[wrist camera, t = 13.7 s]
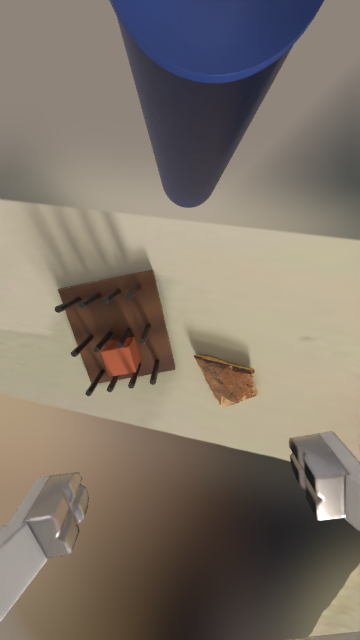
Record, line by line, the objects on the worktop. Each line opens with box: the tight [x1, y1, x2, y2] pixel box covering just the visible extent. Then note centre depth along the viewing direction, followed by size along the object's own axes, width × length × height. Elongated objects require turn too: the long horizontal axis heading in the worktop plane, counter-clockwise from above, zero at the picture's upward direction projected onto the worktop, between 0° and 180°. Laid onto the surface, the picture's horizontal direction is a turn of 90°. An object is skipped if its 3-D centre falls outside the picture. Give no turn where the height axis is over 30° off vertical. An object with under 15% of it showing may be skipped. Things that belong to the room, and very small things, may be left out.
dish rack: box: [55, 270, 175, 396], centre depth 32 cm, size 16×14×7 cm
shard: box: [194, 355, 258, 407], centre depth 37 cm, size 11×8×2 cm
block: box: [101, 337, 140, 377], centre depth 34 cm, size 4×4×4 cm
